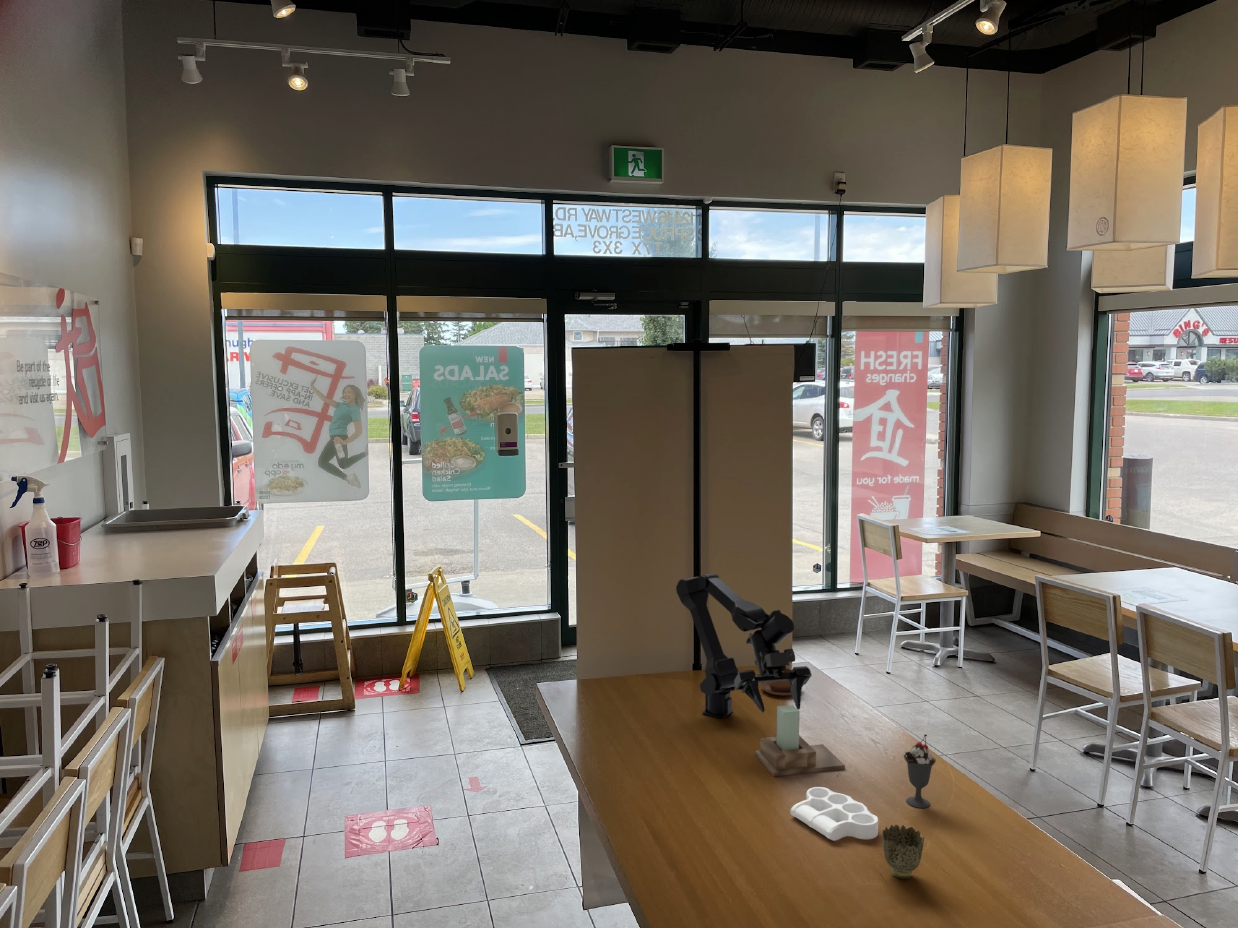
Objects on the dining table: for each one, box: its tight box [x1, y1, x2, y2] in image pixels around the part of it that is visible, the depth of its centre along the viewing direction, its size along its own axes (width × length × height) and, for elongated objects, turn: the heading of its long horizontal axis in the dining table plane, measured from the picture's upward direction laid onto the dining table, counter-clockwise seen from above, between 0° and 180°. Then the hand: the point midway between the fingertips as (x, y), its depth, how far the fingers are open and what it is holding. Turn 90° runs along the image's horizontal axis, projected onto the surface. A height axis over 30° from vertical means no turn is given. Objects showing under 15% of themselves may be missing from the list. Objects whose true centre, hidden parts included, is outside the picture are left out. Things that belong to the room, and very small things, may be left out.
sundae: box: [903, 734, 937, 809], centre depth 188 cm, size 7×7×15 cm
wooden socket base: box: [754, 735, 846, 777], centre depth 209 cm, size 18×12×4 cm, turn 102°
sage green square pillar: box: [776, 704, 801, 751], centre depth 208 cm, size 4×4×12 cm
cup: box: [881, 824, 925, 880], centre depth 161 cm, size 8×7×8 cm
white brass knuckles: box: [789, 786, 879, 842], centre depth 181 cm, size 3×18×15 cm
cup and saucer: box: [759, 667, 792, 697], centre depth 256 cm, size 12×12×6 cm
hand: (781, 710), depth 211 cm, fingers open, 9 cm apart
